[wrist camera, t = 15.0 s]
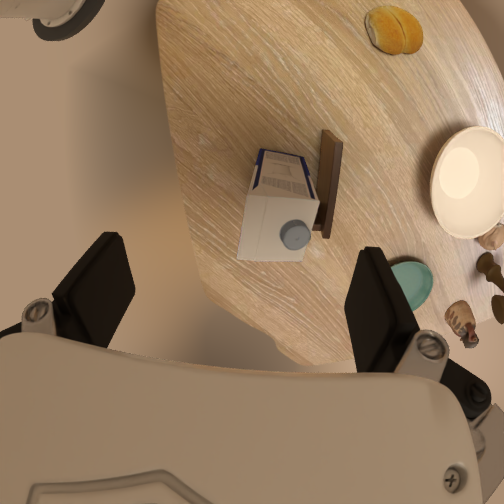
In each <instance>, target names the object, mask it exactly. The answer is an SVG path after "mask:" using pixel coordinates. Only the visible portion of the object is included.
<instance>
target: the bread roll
mask: <svg viewBox="0 0 504 504" xmlns="http://www.w3.org/2000/svg"><path fill="white" fill-rule="evenodd" d="M365 24H366V27H367V31H368V34H369V36H370V38H371V41H372V43H373V44H374V45H375V46H377V47H378V48H380V49H381V50H383V51H384V52H386V53H389V54H393V55H396V54H400V53H409V54H412V53H415V52H417V51H418V50H419V49H420V47H421V46H422V43H423V31H422V27H421V25H420V23H419V22H418V20H417V19H416V18H415V17H414V16H413V15H411V14H410V13H409V12H407V11H405V10H403V9H401V8H398V7H395V6H381V7H377V8H374V9H372V10H371V11H369V12H368V14H367V16H366V20H365Z"/></svg>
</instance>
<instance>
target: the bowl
mask: <svg viewBox="0 0 504 504" xmlns="http://www.w3.org/2000/svg"><path fill="white" fill-rule="evenodd" d="M430 197H431V204H432V207H433V211H434V214H435V216H436V218H437V220H438V222H439V224H440V225H441V227H442V228H443V229H444V230H445V231H446V232H447V233H449V234H450V235H451V236H453V237H456V238H459V239H472V238H476V237H479V236H481V235H483V234H485V233H487V232H488V231H490V230H491V229H492V228H493V227H494V226H495V225H496V224H497V223H498V222H499V221H500V219H501V218H502V217H503V215H504V139H503V138H502V137H501V136H500V135H499V134H498V133H497V132H495V131H494V130H492V129H489V128H487V127H480V126H474V127H469V128H465V129H463V130H461V131H459V132H457V133H455V134H454V135H453V136H452V137H450V138H449V139H448V140H447V141H446V143H445V144H444V145H443V147H442V148H441V150H440V152H439V153H438V155H437V157H436V160H435V163H434V165H433V168H432V173H431V178H430Z"/></svg>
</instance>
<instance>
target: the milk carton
mask: <svg viewBox="0 0 504 504" xmlns="http://www.w3.org/2000/svg"><path fill="white" fill-rule="evenodd" d="M319 203H320V201H319V200H318V197H317V194H316V191H315V188H314V185H313V182H312V179H311V176H310V173H309V170H308V168H307V165H306V162H305V159H304V157H301V156H297V155H292V154H287V153H282V152H277V151H272V150H266V149H261V148H260V150H259V154H258V158H257V161H256V165H255V168H254V172H253V176H252V179H251V183H250V186H249V190H248V194H247V198H246V204H245V210H244V216H243V222H242V228H241V235H240V241H239V247H238V253H237V260H253V261H260V262H302V260H303V257H304V254H305V250H306V247H307V244H308V242H309V241H310V237H311V231H312V227H313V224H314V220H315V217H316V214H317V210H318V207H319Z"/></svg>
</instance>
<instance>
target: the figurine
mask: <svg viewBox="0 0 504 504" xmlns="http://www.w3.org/2000/svg"><path fill="white" fill-rule="evenodd" d="M445 318H446V321H447V323H448V325H449V326H450V327H451V328H452V330H453V332H454V333H455V334H456V335H457V336H459V337H461V339H460V341H463V343H464V346H465V348H474V347H476V346H477V344H478V342H479V339H478V337H477V335H476V334H475V331H474V330H475V327H476V322H475V318H474V315H473V313H472V310H471V308H470V306H469V305H468V303H467V302H465V301H458V302H456V303H454V304H453V305H452V306H450V307H449V309H448V310H447V312H446V314H445Z"/></svg>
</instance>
